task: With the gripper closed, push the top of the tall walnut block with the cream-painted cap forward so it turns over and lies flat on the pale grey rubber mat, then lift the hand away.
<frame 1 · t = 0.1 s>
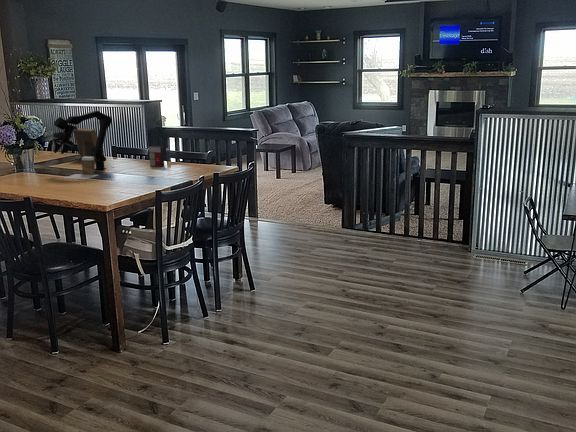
hand: (58, 153, 396), 15 cm above the table, tool tilted 30°, fingers open, 9 cm apart
red and grey box: (157, 166, 435), on the table
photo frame: (86, 160, 470), on the table
walnut block: (89, 174, 402), on the table
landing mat: (80, 176, 392), on the table
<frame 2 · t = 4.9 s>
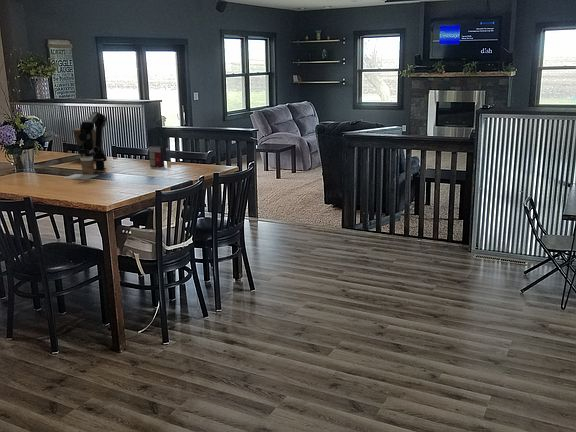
hand: (90, 162, 404), 8 cm above the table, tool pointing down, fingers closed
walnut block: (89, 174, 402), on the table, tilted 7°, touching gripper
everything else where it was.
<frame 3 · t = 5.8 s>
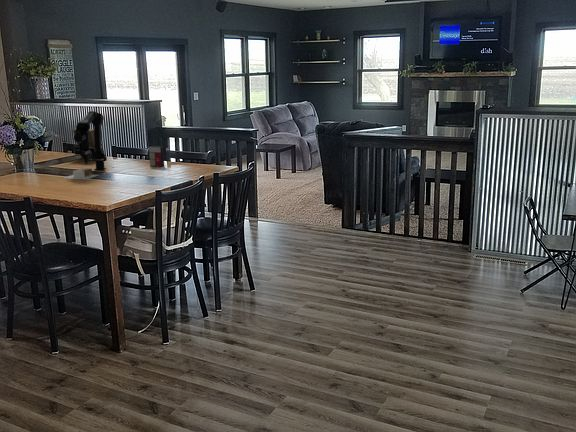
hand: (86, 163, 399), 8 cm above the table, tool pointing down, fingers closed
walnut block: (87, 171, 400), point 2 cm above the table, tilted 90°, touching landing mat
everything else where it was.
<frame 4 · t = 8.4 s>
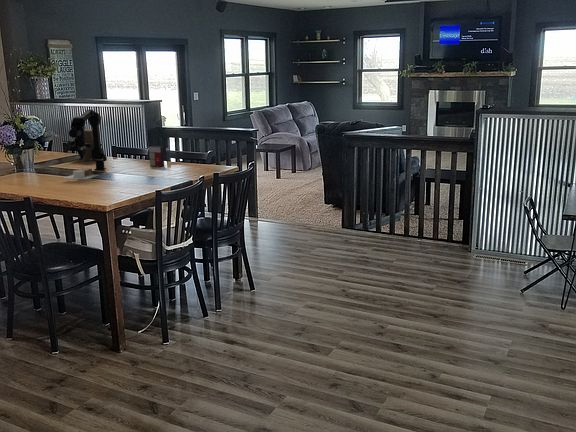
hand: (82, 159, 393), 11 cm above the table, tool pointing down, fingers closed
nothing on the table moved.
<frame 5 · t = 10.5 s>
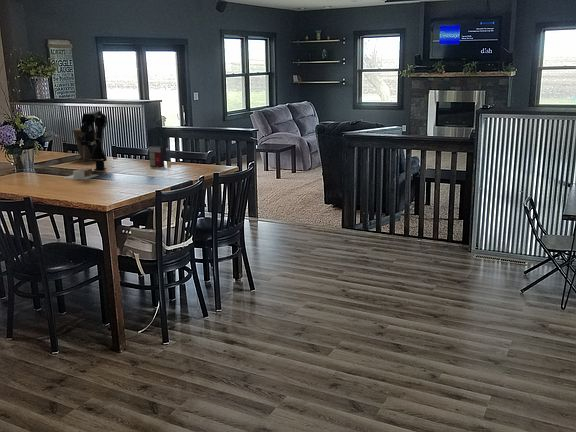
hand: (92, 154, 405), 13 cm above the table, tool pointing down, fingers closed
nothing on the table moved.
at the end: walnut block tilted 90°; walnut block inside the target area (3.9 cm from its centre), point 2.3 cm above the table; walnut block touching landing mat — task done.
